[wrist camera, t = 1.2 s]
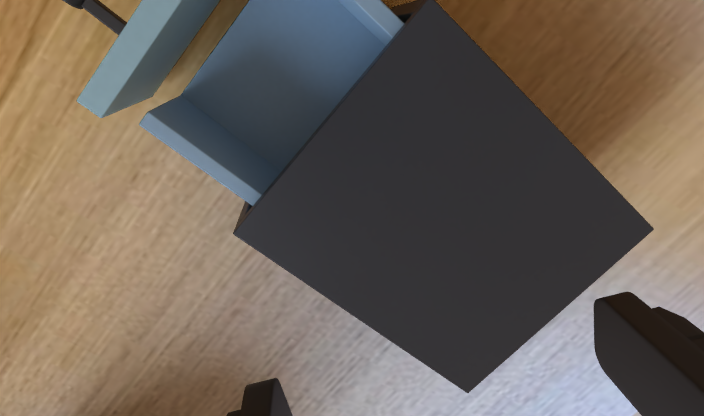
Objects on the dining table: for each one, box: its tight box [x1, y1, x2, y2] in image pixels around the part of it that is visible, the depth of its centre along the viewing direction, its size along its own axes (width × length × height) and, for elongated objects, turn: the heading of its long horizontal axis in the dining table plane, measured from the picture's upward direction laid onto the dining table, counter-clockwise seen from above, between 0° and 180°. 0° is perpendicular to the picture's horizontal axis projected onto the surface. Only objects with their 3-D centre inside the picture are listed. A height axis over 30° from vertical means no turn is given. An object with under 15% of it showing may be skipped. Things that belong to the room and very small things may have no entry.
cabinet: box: [233, 0, 654, 393], centre depth 26 cm, size 17×14×9 cm
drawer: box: [63, 0, 404, 206], centre depth 23 cm, size 19×12×7 cm, turn 49°
